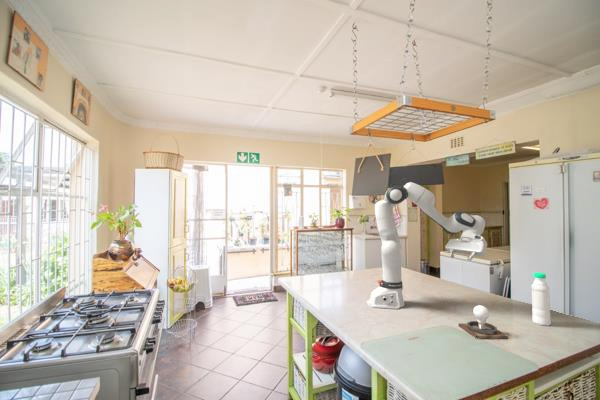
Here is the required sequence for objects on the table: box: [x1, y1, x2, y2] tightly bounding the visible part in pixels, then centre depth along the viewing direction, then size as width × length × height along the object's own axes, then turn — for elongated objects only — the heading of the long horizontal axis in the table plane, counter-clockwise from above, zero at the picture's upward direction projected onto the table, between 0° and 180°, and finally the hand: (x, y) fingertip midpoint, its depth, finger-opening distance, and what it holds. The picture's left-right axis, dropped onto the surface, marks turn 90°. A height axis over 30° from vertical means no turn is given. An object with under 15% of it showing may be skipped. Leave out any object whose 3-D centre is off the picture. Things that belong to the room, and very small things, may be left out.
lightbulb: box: [472, 305, 490, 330], centre depth 131 cm, size 6×6×11 cm
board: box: [458, 322, 509, 340], centre depth 131 cm, size 14×14×1 cm
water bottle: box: [530, 271, 552, 327], centre depth 141 cm, size 7×7×25 cm
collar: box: [467, 320, 498, 335], centre depth 131 cm, size 12×12×2 cm
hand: (460, 258), depth 153 cm, fingers open, 8 cm apart
